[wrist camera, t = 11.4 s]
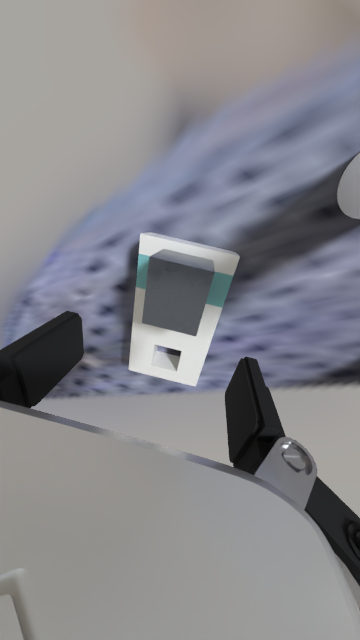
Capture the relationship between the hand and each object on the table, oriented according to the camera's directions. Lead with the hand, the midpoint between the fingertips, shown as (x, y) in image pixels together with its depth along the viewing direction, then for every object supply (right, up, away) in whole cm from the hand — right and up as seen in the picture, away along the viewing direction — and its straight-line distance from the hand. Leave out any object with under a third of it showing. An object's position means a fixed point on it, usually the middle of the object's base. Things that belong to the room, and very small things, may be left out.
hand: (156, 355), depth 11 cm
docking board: (+1, +3, +20) cm, 20 cm away
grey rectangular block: (+2, +9, +17) cm, 19 cm away
